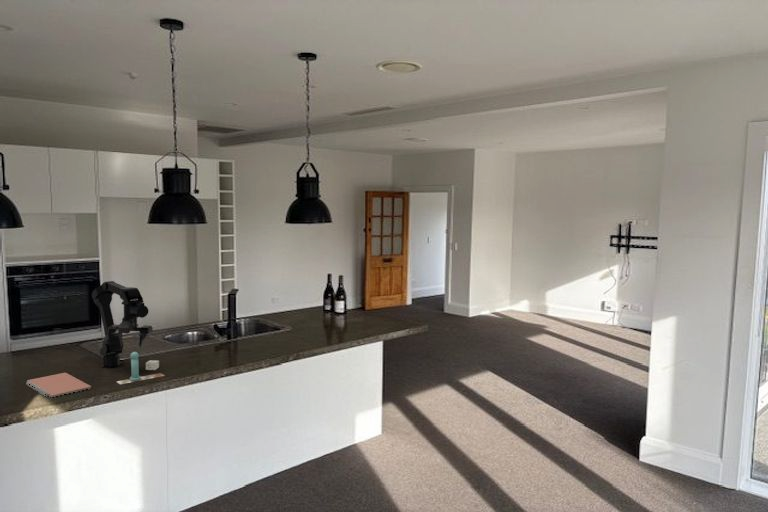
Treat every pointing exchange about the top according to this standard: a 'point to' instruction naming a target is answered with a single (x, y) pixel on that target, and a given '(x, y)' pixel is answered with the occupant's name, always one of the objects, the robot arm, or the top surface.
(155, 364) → the die
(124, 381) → the board
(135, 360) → the pawn
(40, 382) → the notebook
